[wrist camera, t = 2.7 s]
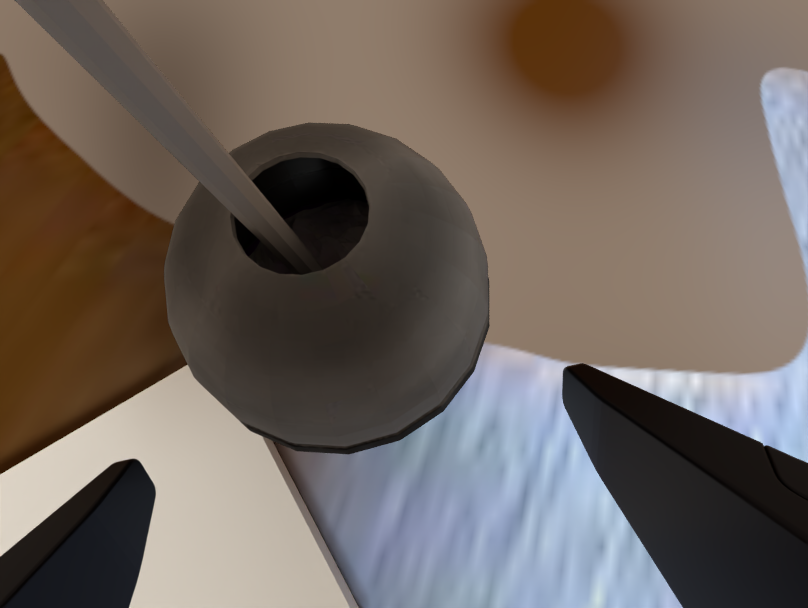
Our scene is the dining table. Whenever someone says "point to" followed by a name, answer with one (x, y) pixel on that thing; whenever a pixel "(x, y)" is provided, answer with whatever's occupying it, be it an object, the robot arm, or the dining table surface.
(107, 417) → the board
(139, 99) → the beverage cup
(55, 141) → the dining table surface
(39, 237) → the dining table surface
